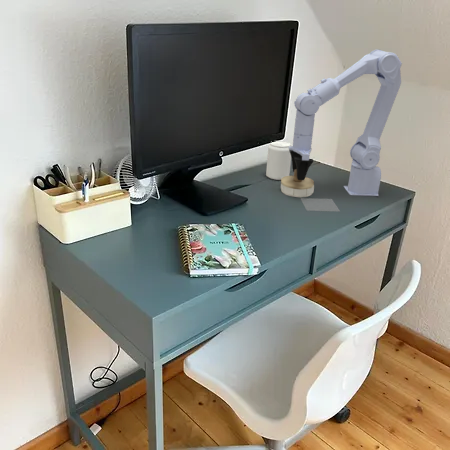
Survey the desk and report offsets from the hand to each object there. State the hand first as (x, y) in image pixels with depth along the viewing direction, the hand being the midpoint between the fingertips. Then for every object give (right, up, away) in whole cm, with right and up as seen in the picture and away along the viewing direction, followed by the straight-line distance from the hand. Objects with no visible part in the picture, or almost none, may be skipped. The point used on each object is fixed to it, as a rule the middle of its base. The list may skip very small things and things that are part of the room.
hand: (298, 175), depth 158 cm
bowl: (0, -5, +2) cm, 6 cm away
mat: (+5, -10, -7) cm, 13 cm away
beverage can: (-5, +1, +16) cm, 17 cm away
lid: (0, -2, +1) cm, 3 cm away
